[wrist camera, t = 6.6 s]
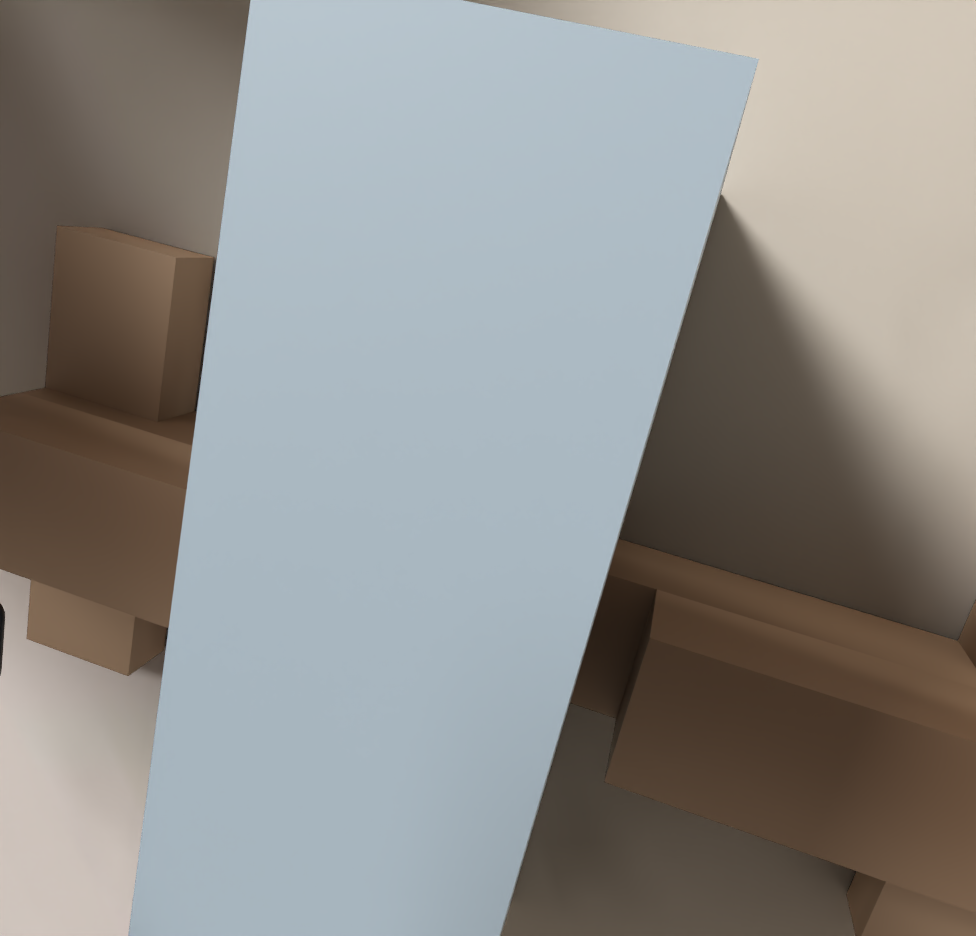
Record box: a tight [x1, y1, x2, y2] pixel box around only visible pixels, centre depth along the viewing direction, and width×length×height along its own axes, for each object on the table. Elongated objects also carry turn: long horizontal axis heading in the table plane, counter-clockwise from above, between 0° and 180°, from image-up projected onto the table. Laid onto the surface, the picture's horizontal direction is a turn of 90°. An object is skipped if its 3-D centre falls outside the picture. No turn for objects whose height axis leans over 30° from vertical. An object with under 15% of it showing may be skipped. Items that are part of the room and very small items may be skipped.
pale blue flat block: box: [128, 0, 759, 936], centre depth 9 cm, size 12×2×8 cm, turn 167°
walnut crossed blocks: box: [0, 226, 976, 936], centre depth 12 cm, size 7×16×3 cm, turn 77°
